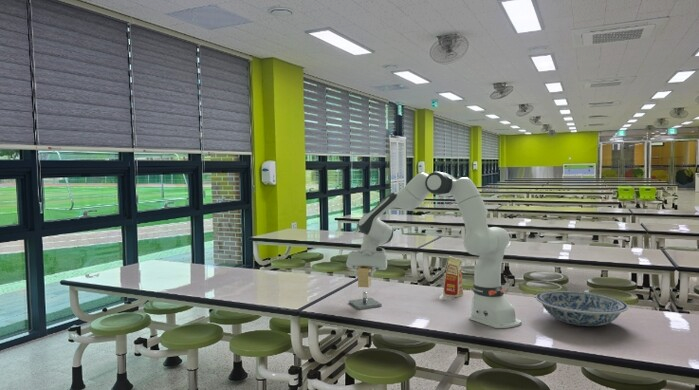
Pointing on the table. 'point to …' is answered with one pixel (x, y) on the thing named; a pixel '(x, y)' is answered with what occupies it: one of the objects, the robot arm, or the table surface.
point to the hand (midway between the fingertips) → (364, 275)
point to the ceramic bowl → (581, 307)
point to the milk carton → (453, 278)
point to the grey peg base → (365, 302)
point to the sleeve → (364, 276)
